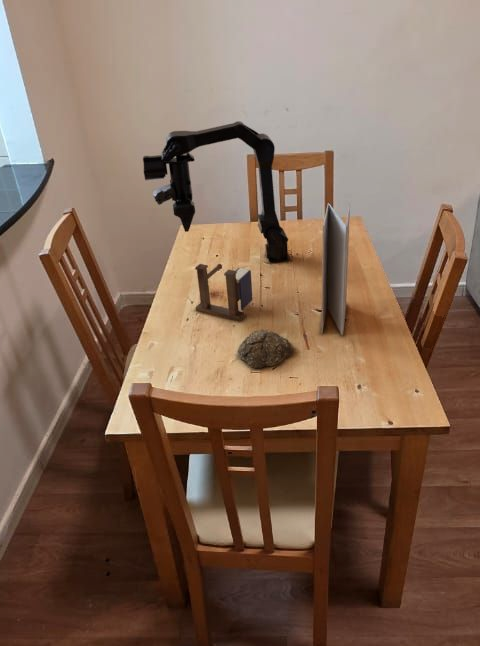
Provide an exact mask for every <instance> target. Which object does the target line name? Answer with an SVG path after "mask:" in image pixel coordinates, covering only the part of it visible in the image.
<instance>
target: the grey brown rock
mask: <svg viewBox="0 0 480 646" xmlns="http://www.w3.org/2000/svg"><path fill="white" fill-rule="evenodd" d="M292 353H293V347H292V344H291V342H289V340H288V339H287V338H286V337H284V336H282V335H280V334H278V333H277V332H275V331H271V330H268V329H262V328H261V329H259V330H253V331H252V332H251V333H249V334H248V336H246V337H245V339H244V340H243V341H242V343H241V344H240V345H239V347H238V350H237V357H238V359H240V360H242V361H244V362H246V363H247V365H248V366H249V367H250V368H253V369H263V368H265V367H273V366H276V365H279V364H280V363H281V362H283V360H284V359H285V358H288V357H290V356H291V355H292Z"/></svg>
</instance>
